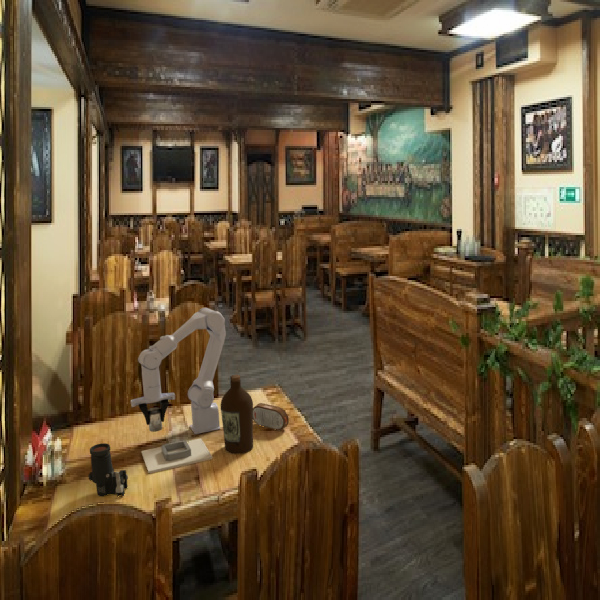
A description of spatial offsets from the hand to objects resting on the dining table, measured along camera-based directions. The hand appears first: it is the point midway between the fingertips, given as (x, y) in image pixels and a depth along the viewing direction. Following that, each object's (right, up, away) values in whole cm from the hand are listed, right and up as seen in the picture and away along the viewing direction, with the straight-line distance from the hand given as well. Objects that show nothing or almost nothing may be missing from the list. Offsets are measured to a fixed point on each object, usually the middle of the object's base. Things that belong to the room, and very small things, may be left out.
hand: (155, 422), depth 180 cm
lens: (0, -2, 0) cm, 2 cm away
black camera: (-5, -13, -30) cm, 33 cm away
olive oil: (+29, -7, -5) cm, 31 cm away
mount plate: (+10, -9, -10) cm, 16 cm away
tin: (+39, -4, +10) cm, 40 cm away
